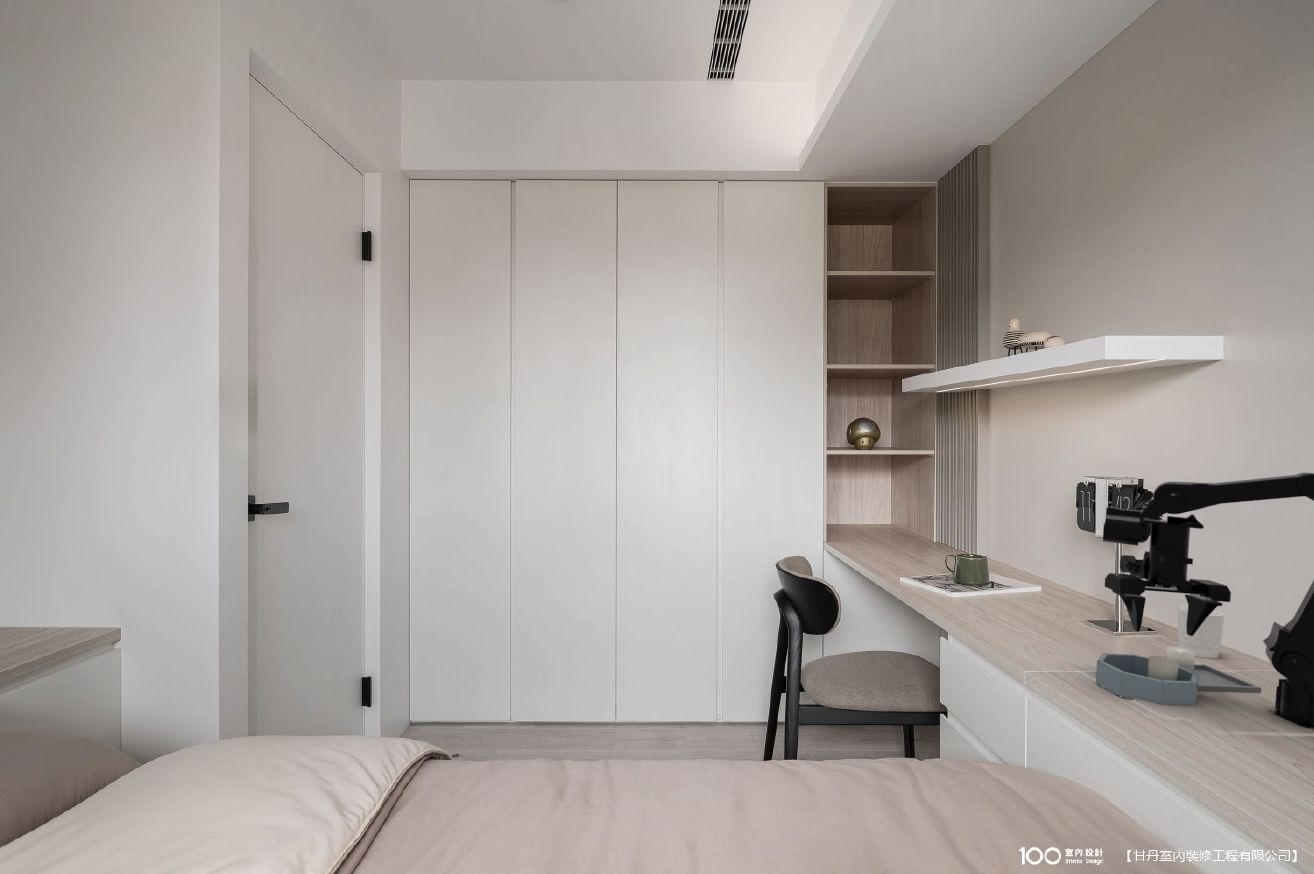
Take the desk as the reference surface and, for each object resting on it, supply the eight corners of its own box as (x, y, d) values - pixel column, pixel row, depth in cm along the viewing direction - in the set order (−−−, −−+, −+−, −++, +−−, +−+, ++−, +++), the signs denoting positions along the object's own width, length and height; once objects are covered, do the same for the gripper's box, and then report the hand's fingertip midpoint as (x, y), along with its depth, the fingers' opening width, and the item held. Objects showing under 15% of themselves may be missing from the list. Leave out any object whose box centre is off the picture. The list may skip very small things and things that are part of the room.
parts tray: (1260, 695, 124) (1261, 687, 124) (1194, 693, 124) (1194, 685, 124) (1204, 671, 136) (1205, 664, 136) (1143, 669, 136) (1144, 662, 136)
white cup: (1229, 663, 143) (1232, 617, 142) (1188, 659, 144) (1190, 613, 144) (1207, 651, 150) (1210, 607, 150) (1167, 647, 152) (1170, 604, 152)
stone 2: (1199, 678, 130) (1201, 653, 130) (1177, 677, 130) (1179, 652, 130) (1180, 670, 135) (1182, 645, 135) (1159, 669, 135) (1161, 645, 134)
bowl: (1218, 709, 117) (1220, 683, 117) (1137, 706, 116) (1139, 681, 116) (1152, 677, 131) (1153, 654, 131) (1080, 675, 131) (1081, 652, 131)
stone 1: (1159, 690, 122) (1161, 663, 121) (1141, 681, 126) (1142, 655, 126) (1183, 691, 122) (1184, 664, 122) (1163, 682, 126) (1165, 655, 126)
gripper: (1193, 545, 131) (1187, 624, 131) (1091, 538, 133) (1086, 616, 133) (1236, 556, 119) (1229, 642, 120) (1124, 548, 121) (1118, 633, 122)
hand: (1163, 633), depth 124 cm, fingers open, 9 cm apart
